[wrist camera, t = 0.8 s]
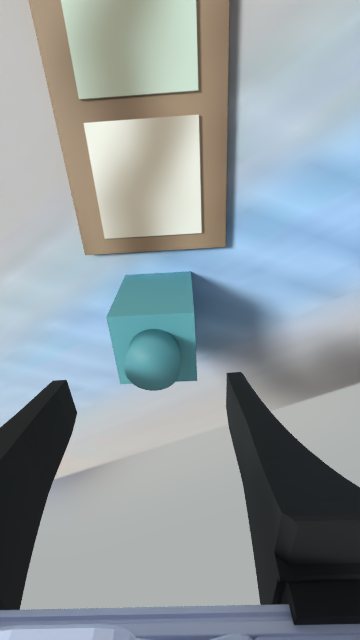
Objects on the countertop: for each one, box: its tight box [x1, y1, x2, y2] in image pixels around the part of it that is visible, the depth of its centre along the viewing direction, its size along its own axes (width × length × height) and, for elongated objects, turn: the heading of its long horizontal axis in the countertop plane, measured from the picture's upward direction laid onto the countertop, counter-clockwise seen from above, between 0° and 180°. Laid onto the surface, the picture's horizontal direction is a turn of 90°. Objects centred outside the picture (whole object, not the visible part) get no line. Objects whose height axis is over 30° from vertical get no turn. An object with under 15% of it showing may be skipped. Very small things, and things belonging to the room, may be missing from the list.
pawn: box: [107, 272, 197, 390], centre depth 18 cm, size 4×4×8 cm
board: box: [29, 0, 229, 255], centre depth 14 cm, size 9×22×1 cm, turn 3°
